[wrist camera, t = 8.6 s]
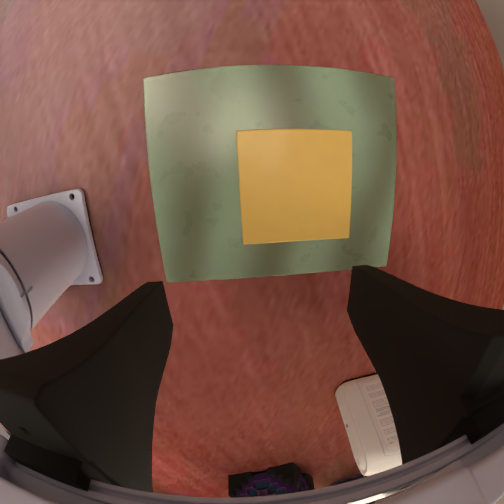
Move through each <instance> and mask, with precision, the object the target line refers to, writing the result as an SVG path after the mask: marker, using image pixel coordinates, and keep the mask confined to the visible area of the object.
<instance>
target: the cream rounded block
mask: <svg viewBox="0 0 504 504" xmlns="http://www.w3.org/2000/svg"><path fill="white" fill-rule="evenodd" d="M335 396H336V399H337V403H338V406H339V409H340V412H341V415H342V419H343V422H344V425H345V428H346V432H347V435H348V438H349V441H350V445H351V448H352V451H353V455H354V458H355V461H356V463H357V465H358V468H359V470H360V472H361V473H362V475H364V476H371V475H374V474H377V473H380V472H383V471H386V470H389V469H392V468H394V467H397V466H400V465H402V459H401V452H400V447H399V441H398V436H397V432H396V428H395V424H394V420H393V416H392V413H391V409H390V406H389V403H388V400H387V397H386V394H385V391H384V388H383V386H382V383H381V380H380V378H379V376H378V374H376V375H372V376H368V377H363V378H359V379H355V380H351V381H348V382H345V383H343V384H341V385H340V386H339V387H338V388H337V390H336V392H335Z"/></svg>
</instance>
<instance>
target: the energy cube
mask: <svg viewBox="0 0 504 504" xmlns="http://www.w3.org/2000/svg"><path fill="white" fill-rule="evenodd" d="M228 481H229V496H230V497H232V498H238V497H258V496H271V495H280V494H288V493H296V492H302V491H308V490H314V484H313V479H312V477H311V476H309V475H308V474H307V473H304V474H301V470H300V468H299V467H297V466H296V465H295V464H294V463H288V464H284V465H280V466H276V467H272V468H268V470H267V472H264V473H259V474H253V473H251V472H248V473H242V474H236V475H230V476H228Z"/></svg>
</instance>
